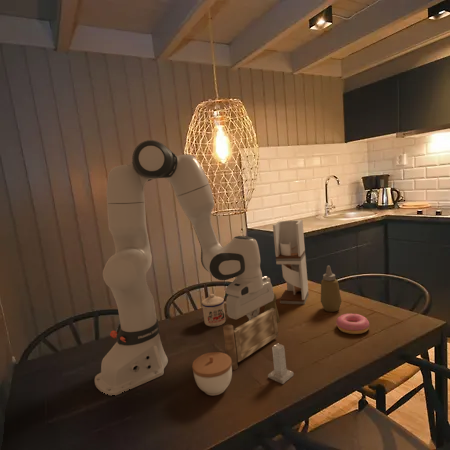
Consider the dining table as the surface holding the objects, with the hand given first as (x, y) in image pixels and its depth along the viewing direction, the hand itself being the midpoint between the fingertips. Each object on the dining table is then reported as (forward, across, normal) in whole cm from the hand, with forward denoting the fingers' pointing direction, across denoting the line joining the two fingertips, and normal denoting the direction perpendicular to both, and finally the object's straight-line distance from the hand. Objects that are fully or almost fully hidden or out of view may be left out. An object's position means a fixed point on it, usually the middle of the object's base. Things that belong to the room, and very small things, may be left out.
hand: (253, 321), depth 111 cm
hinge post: (+7, +16, +5) cm, 18 cm away
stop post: (+7, +11, +19) cm, 23 cm away
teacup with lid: (+7, -4, -24) cm, 25 cm away
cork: (+7, -16, -6) cm, 18 cm away
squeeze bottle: (+8, -37, +8) cm, 39 cm away
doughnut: (+8, -26, +22) cm, 35 cm away
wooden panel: (+6, +4, +5) cm, 9 cm away
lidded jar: (+7, +26, +8) cm, 28 cm away
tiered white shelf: (+7, -39, -11) cm, 41 cm away
